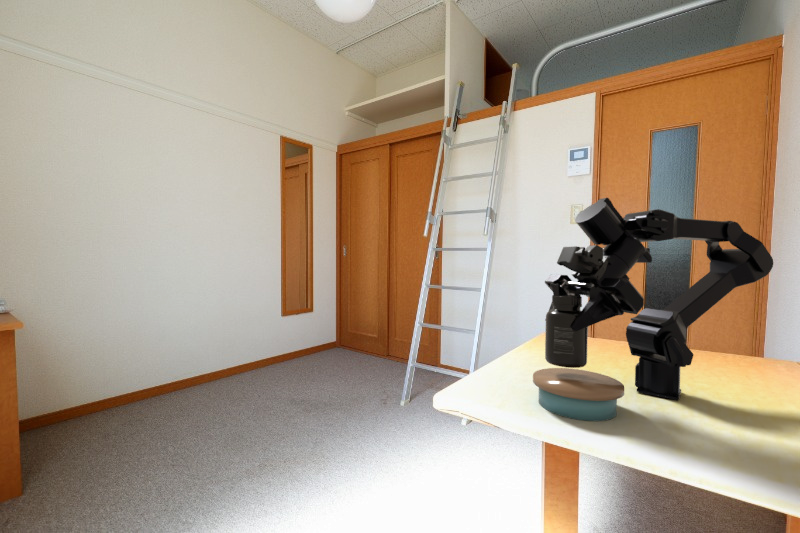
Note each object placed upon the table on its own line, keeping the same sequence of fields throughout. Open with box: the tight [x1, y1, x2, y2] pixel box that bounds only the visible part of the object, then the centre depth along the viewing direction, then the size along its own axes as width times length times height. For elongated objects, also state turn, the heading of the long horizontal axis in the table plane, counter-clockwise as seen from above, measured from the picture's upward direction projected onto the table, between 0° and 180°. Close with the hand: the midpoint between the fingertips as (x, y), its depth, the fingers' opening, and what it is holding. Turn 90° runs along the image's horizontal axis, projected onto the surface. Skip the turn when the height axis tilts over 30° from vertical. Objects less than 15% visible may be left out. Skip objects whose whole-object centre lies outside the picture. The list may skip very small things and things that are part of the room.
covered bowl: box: [532, 367, 625, 422], centre depth 64 cm, size 14×14×4 cm
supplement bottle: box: [544, 295, 589, 369], centre depth 66 cm, size 7×7×12 cm
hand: (559, 325), depth 66 cm, fingers closed on supplement bottle, 7 cm apart
